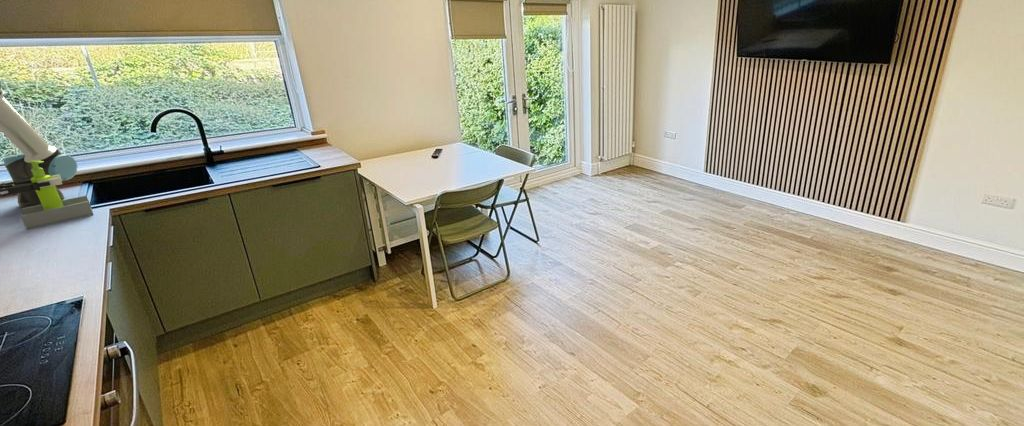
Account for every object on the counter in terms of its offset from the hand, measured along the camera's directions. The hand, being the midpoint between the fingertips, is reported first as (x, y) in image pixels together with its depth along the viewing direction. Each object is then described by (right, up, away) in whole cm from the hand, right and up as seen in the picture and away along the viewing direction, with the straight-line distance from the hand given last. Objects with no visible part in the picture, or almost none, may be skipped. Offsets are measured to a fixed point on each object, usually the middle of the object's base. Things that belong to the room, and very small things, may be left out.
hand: (60, 179), depth 186 cm
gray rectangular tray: (-3, -16, +3) cm, 17 cm away
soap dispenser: (-3, -12, +1) cm, 12 cm away
